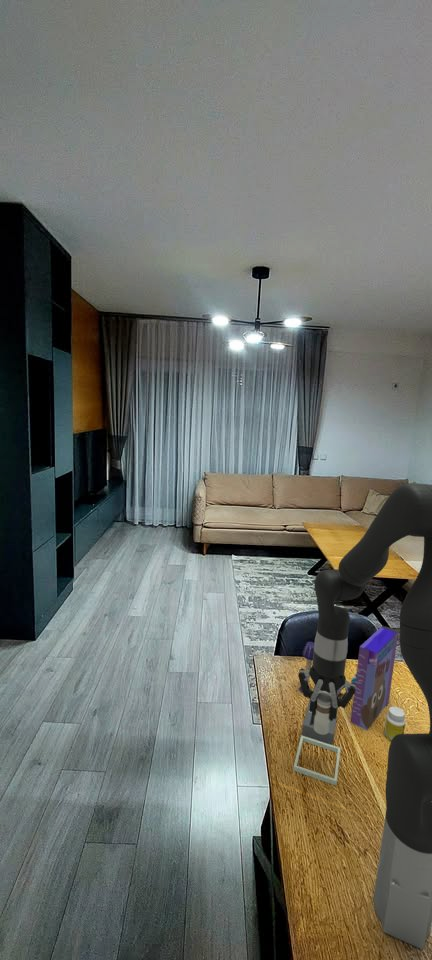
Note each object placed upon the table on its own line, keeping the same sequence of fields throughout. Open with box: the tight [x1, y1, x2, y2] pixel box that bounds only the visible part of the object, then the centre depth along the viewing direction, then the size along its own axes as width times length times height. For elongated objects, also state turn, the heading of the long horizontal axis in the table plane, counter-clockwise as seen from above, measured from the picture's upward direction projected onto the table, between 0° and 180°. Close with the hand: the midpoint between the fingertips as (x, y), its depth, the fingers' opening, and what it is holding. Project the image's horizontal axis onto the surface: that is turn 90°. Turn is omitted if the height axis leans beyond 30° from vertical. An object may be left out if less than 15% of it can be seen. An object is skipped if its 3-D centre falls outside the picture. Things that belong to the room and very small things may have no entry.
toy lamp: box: [298, 641, 315, 694], centre depth 130 cm, size 5×5×17 cm
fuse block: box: [301, 691, 339, 746], centre depth 116 cm, size 12×8×10 cm, turn 159°
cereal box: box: [350, 625, 399, 731], centre depth 122 cm, size 17×5×24 cm, turn 139°
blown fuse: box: [313, 693, 332, 735], centre depth 102 cm, size 4×4×8 cm
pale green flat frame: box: [292, 734, 342, 786], centre depth 104 cm, size 11×10×2 cm
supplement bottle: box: [383, 706, 406, 742], centre depth 114 cm, size 5×5×8 cm
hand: (322, 715), depth 102 cm, fingers closed on blown fuse, 3 cm apart
